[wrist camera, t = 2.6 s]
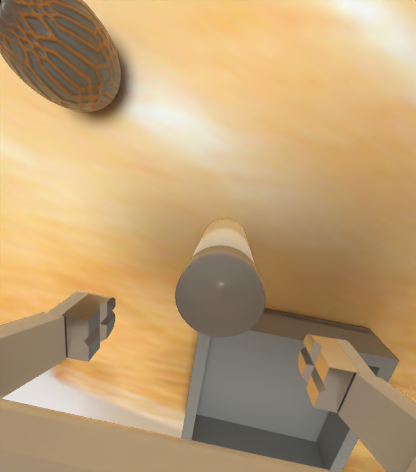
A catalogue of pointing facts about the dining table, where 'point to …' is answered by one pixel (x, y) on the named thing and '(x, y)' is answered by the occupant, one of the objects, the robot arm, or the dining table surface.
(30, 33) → the vase
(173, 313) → the dining table surface
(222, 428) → the tray
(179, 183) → the dining table surface
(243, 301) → the shaker
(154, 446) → the robot arm
